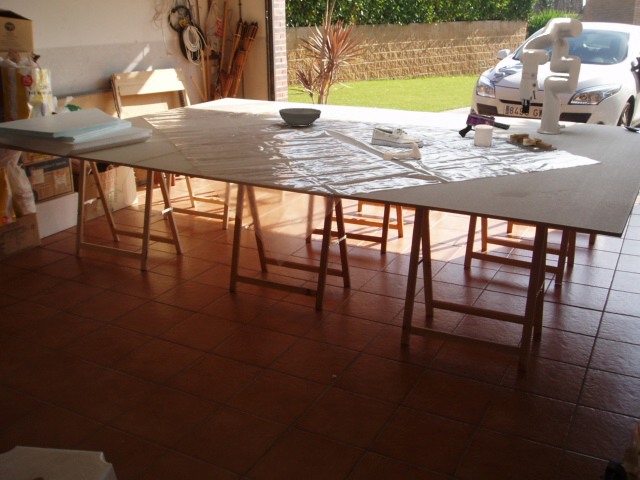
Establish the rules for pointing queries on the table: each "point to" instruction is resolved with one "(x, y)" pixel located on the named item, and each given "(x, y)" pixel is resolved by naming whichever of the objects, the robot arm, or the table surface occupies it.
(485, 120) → the toy gun
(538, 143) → the rail
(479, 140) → the cup
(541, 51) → the robot arm
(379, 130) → the boat shoe
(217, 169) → the table surface
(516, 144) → the strip
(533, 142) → the sliding jaw
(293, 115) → the bowl
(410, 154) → the beige knobbed bar
